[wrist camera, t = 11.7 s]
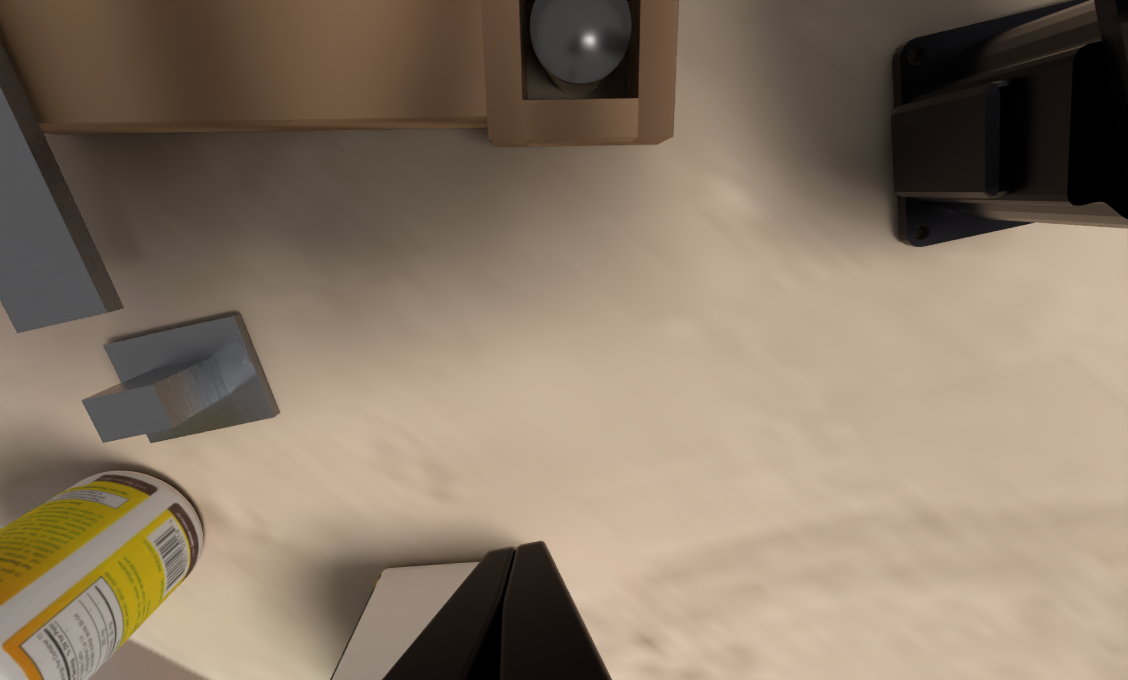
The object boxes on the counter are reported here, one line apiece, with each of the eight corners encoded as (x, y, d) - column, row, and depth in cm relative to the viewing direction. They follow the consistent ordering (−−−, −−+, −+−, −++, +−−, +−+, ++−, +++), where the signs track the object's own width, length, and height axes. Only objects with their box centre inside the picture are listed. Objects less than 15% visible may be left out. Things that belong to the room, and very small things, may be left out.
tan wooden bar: (663, -40, 16) (682, -84, 13) (657, 144, 17) (673, 136, 15) (12, -30, 16) (-91, -70, 13) (61, 154, 17) (-25, 147, 15)
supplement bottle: (44, 513, 21) (-403, 790, 11) (134, 438, 20) (-267, 669, 11) (150, 602, 22) (-170, 923, 13) (240, 535, 22) (-30, 824, 12)
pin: (609, 5, 16) (620, -44, 13) (624, 94, 17) (639, 69, 14) (528, 25, 16) (519, -18, 13) (546, 112, 17) (542, 93, 14)
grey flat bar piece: (4, -274, 14) (-192, -437, 11) (279, 412, 20) (214, 463, 16) (-159, -225, 15) (-406, -368, 11) (158, 438, 20) (67, 494, 17)
